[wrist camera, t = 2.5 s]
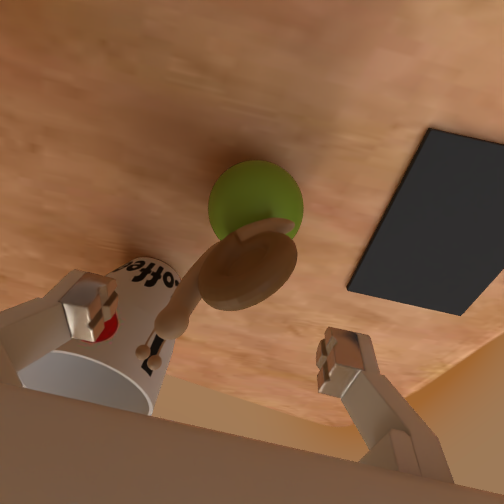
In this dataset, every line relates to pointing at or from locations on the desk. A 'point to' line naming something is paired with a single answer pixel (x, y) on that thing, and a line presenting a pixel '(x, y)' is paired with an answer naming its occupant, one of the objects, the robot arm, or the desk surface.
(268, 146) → the desk surface
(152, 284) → the cup
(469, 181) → the mat
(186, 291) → the snail figurine
